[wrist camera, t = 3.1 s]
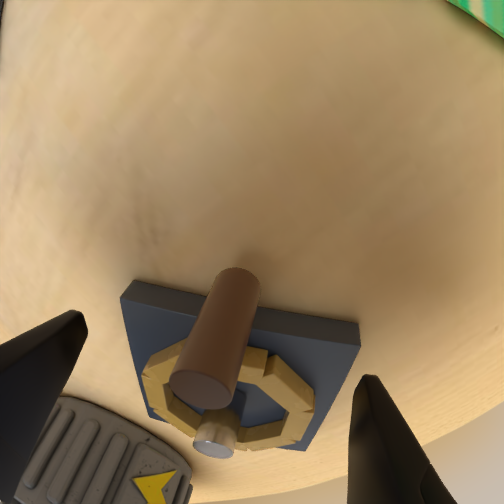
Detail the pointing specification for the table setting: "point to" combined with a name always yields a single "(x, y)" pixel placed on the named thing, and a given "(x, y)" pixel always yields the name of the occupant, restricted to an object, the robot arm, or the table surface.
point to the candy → (485, 12)
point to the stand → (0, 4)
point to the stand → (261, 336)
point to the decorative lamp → (100, 462)
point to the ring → (227, 368)
